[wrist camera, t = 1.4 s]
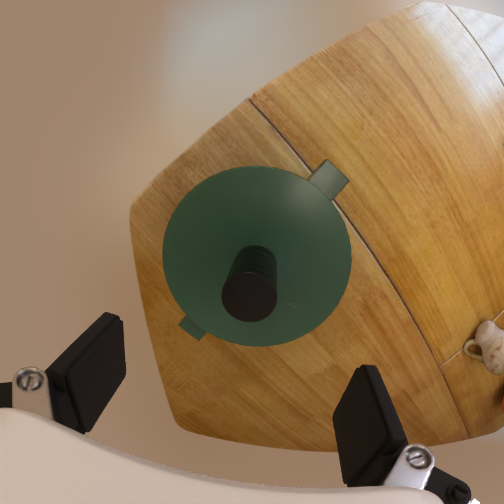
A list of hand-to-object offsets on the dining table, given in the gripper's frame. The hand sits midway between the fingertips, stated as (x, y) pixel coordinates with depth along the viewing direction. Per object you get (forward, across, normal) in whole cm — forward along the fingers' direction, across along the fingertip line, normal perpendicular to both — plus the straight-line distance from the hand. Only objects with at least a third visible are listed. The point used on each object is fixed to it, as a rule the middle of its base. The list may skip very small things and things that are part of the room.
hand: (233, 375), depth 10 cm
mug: (+22, -39, +8) cm, 46 cm away
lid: (+12, 0, 0) cm, 13 cm away
